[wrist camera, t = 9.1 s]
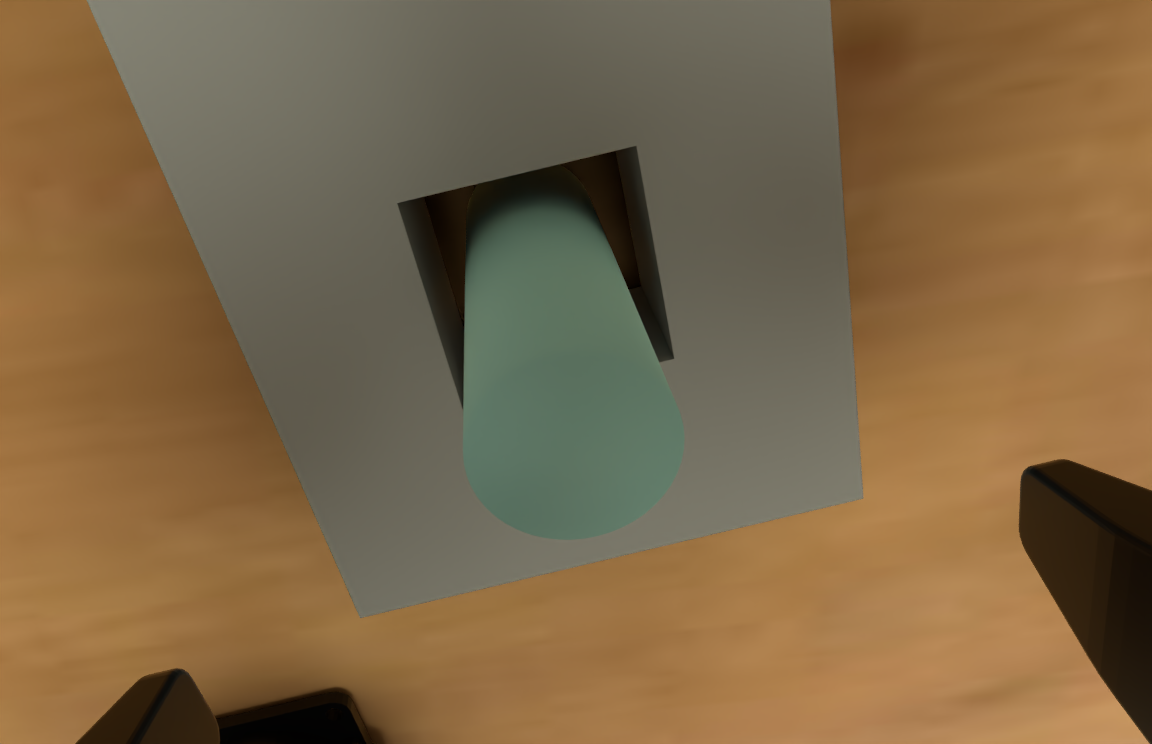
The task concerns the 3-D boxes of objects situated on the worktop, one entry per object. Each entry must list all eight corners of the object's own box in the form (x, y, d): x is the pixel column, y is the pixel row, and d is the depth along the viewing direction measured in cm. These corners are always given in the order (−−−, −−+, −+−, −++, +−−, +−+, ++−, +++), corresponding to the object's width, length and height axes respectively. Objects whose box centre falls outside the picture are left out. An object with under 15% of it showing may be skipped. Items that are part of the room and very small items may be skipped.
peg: (484, 293, 21) (494, 560, 13) (450, 175, 20) (435, 381, 11) (604, 265, 21) (699, 512, 13) (579, 143, 20) (665, 327, 11)
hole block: (376, 514, 24) (360, 617, 20) (154, -40, 17) (74, -28, 14) (805, 412, 24) (863, 498, 20) (745, -182, 17) (816, -207, 14)
